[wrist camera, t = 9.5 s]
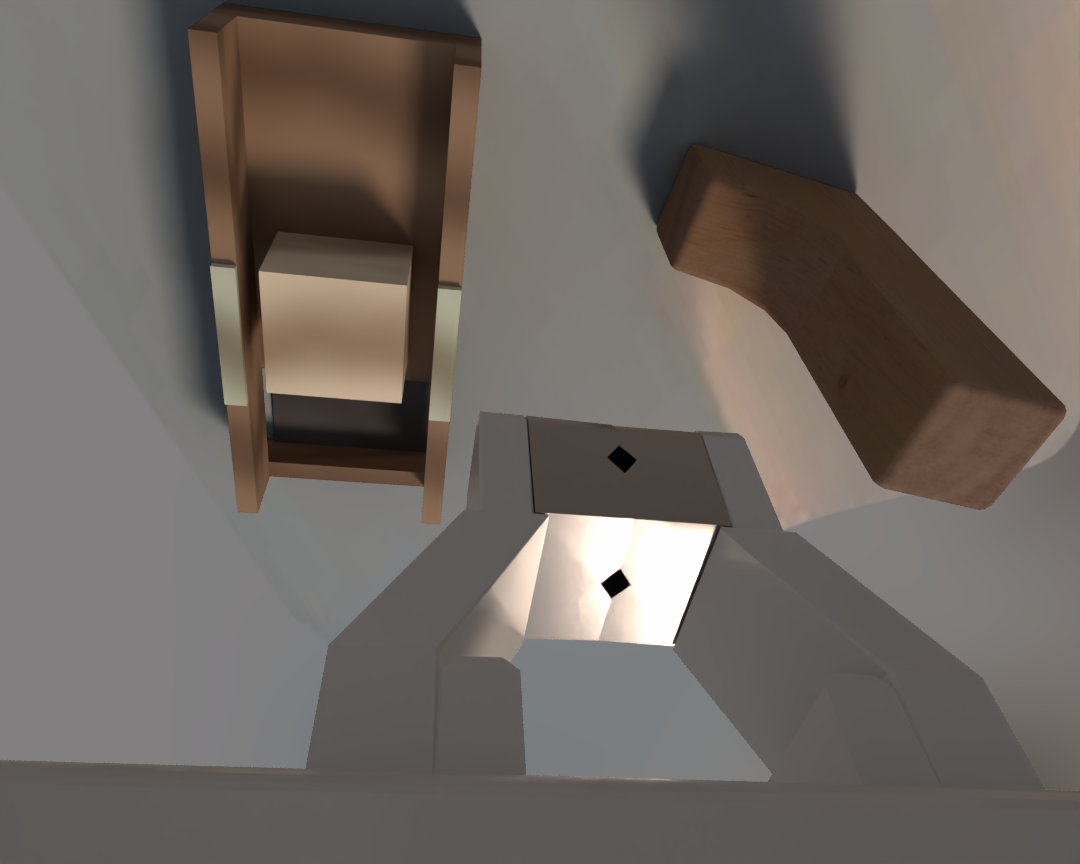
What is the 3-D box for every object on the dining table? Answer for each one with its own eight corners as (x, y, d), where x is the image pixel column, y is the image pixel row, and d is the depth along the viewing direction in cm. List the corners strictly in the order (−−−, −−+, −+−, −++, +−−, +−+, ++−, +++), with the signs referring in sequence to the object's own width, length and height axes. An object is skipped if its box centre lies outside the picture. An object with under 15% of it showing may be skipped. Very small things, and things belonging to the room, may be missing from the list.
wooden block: (652, 229, 40) (747, 463, 26) (689, 139, 38) (818, 341, 23) (815, 276, 42) (988, 516, 28) (861, 193, 40) (1077, 410, 25)
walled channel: (222, 2, 33) (184, 30, 29) (481, 38, 35) (481, 69, 30) (258, 452, 47) (236, 516, 43) (443, 465, 48) (440, 528, 44)
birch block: (277, 231, 37) (258, 271, 34) (413, 245, 38) (406, 285, 35) (283, 346, 41) (266, 392, 37) (407, 357, 41) (401, 403, 38)
